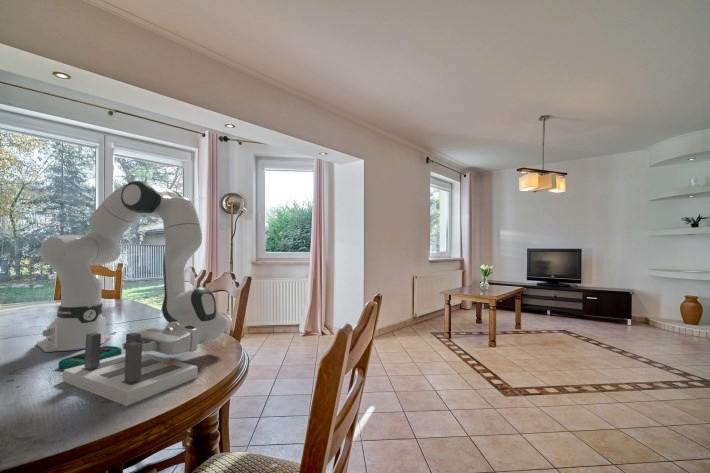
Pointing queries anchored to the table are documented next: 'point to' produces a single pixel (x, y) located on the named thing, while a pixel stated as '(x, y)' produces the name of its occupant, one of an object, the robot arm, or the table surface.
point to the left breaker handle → (92, 350)
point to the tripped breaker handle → (133, 338)
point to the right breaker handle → (133, 361)
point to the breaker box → (114, 387)
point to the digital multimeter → (80, 359)
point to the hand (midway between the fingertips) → (129, 348)
